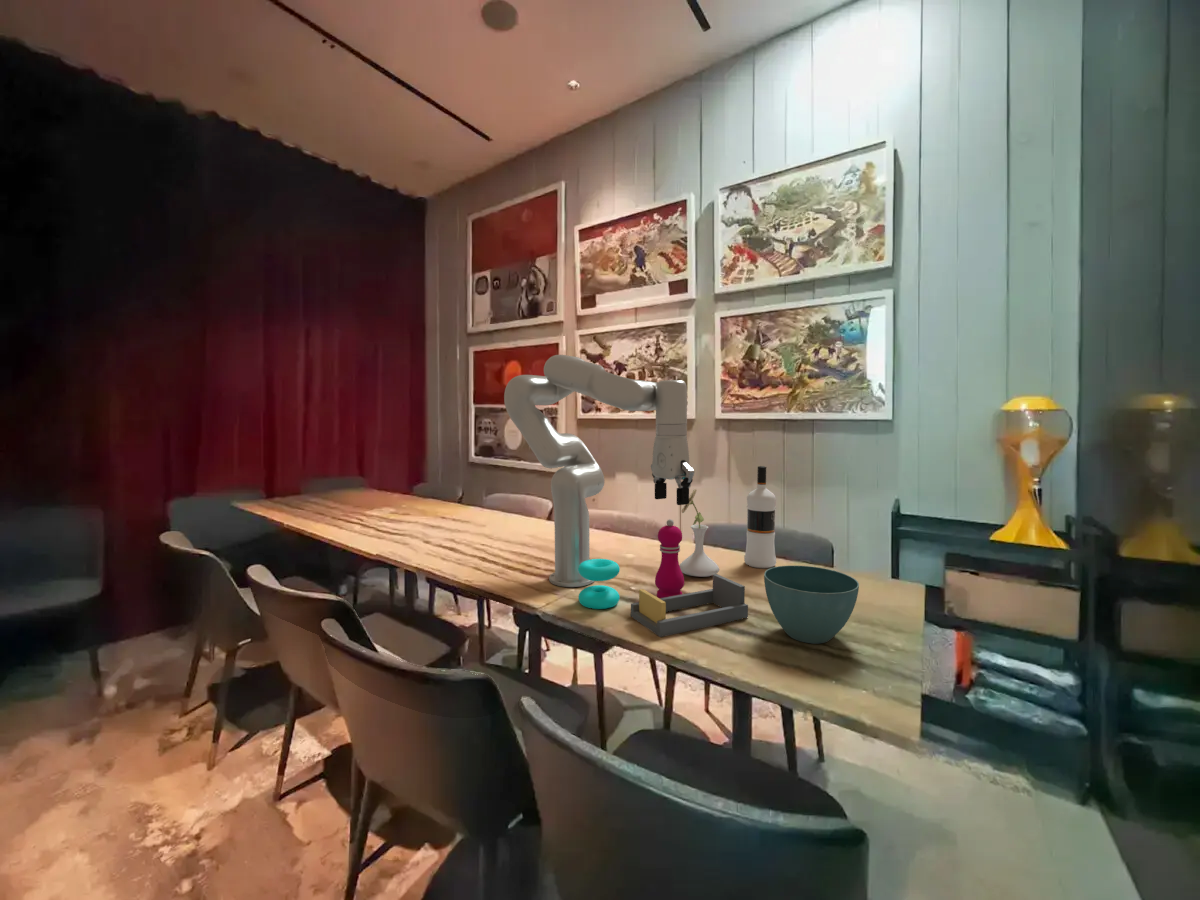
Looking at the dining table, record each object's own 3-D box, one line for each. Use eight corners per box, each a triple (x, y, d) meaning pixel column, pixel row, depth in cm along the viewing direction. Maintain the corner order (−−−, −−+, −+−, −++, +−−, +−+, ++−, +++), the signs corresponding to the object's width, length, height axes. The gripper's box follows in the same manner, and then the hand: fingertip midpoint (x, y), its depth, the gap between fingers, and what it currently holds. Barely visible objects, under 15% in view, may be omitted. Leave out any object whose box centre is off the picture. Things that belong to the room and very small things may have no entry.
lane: (630, 616, 122) (630, 586, 122) (713, 600, 132) (713, 572, 132) (660, 637, 111) (660, 604, 111) (747, 618, 121) (748, 587, 121)
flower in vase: (689, 566, 162) (690, 483, 160) (725, 572, 155) (727, 486, 153) (668, 577, 151) (669, 488, 149) (706, 584, 145) (707, 492, 143)
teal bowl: (846, 622, 119) (847, 568, 118) (867, 659, 101) (869, 595, 100) (760, 615, 123) (761, 562, 122) (766, 650, 105) (767, 588, 104)
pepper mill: (676, 606, 129) (677, 523, 127) (649, 600, 133) (650, 520, 131) (688, 597, 135) (689, 518, 133) (662, 592, 139) (663, 515, 137)
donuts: (615, 556, 136) (623, 567, 126) (615, 595, 137) (623, 609, 127) (576, 558, 134) (580, 569, 124) (576, 597, 135) (581, 612, 125)
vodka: (740, 560, 168) (742, 464, 166) (770, 560, 168) (772, 464, 166) (749, 569, 159) (751, 467, 156) (780, 569, 159) (783, 467, 157)
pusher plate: (639, 615, 122) (639, 589, 121) (642, 614, 122) (643, 588, 122) (661, 630, 113) (661, 603, 113) (665, 630, 114) (665, 602, 113)
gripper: (639, 431, 137) (640, 497, 138) (678, 433, 121) (678, 508, 122) (664, 430, 140) (665, 495, 141) (705, 432, 125) (705, 505, 126)
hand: (671, 501), depth 132 cm, fingers open, 9 cm apart
